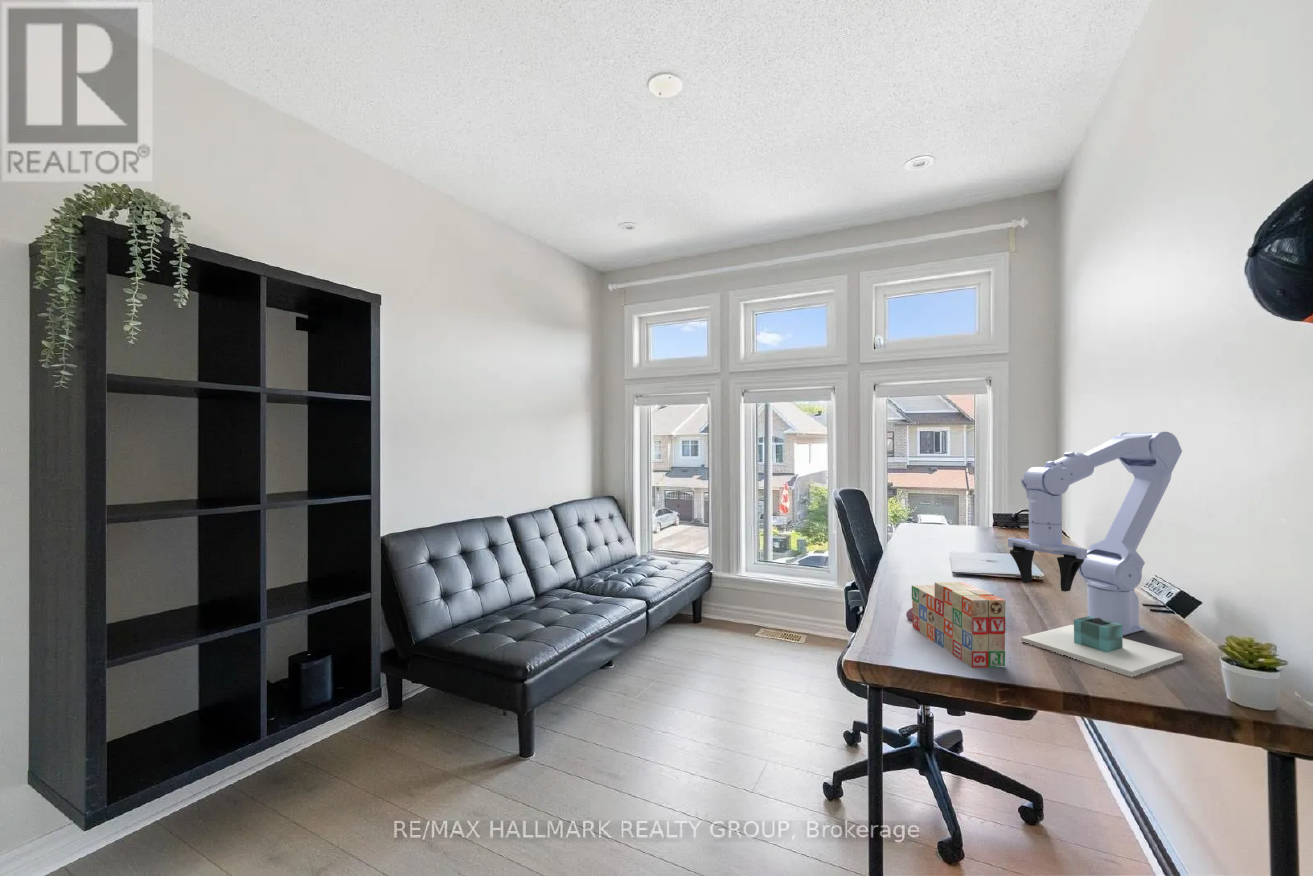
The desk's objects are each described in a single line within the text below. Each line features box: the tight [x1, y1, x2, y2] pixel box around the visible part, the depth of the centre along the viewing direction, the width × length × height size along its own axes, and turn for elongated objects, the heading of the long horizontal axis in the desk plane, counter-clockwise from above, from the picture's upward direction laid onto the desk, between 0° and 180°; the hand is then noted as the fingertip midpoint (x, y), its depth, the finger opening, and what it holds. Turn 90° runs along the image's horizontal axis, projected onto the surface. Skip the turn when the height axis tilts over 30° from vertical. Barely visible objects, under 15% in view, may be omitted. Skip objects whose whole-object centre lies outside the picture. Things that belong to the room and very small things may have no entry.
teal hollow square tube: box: [1073, 615, 1123, 652], centre depth 102 cm, size 5×5×4 cm
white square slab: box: [1020, 618, 1184, 678], centre depth 102 cm, size 18×18×6 cm
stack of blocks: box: [911, 581, 1006, 669], centre depth 105 cm, size 21×6×12 cm, turn 1°
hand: (1045, 586), depth 113 cm, fingers open, 7 cm apart
